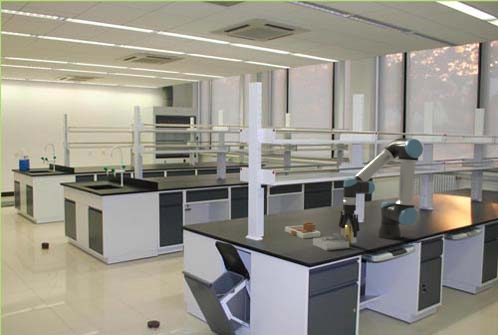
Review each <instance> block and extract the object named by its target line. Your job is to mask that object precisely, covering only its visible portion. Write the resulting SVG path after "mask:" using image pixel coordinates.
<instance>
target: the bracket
mask: <svg viewBox="0 0 498 335" xmlns="http://www.w3.org/2000/svg"><path fill="white" fill-rule="evenodd" d="M302 226H303V229H294V230H297V231H299V232H302V233H311V232H312V230H316V223H314V222H310V221H309V222H306V221H305V222H303V223H302ZM294 230H291V233H290V234H291V236H295V237H298V236H297V232H296V231H294Z"/></svg>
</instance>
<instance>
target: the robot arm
mask: <svg viewBox="0 0 498 335" xmlns="http://www.w3.org/2000/svg"><path fill="white" fill-rule="evenodd" d="M423 151H424V147H423V144H422V142H420V140H419V139H417V138H411V137H410V138H403V137H402V138H397V139H394V140H392V141H391V142H390V143H388V144H387V145H385V147H383V148H382V149H381V152H380V153H379V154H377V156H375V158H373V159H372V160H371V161H370V162H368V164H367V165H366V166H364V167H363V168H362V169H361V170H360V171H359V172H357V174H355V175H354V176H353V177H346V178H344V180H343V185H342V187H343V201H342V202H343V204H342V210H341V211H340V217H339V222H338V227H340V235H342V236H345V225H347V223H348V221H349V222H350V225H351V226H352V229H353V231H352V244H355V243H357V236H358V232H360V225H359V224H360V223H359V214H356V213H355V211H357V195H361V194H362V195H363V194H364V195H365V194H368V195H370V194H373V193H374V192H375V190H376V185H375V183H374V182H373V181H371V180H370V179H371V178H373V176H374V175H375V174H377V173H378V172H379V171H380V170H381V169H383V168H384V166H386V165H387V164H388V163H389V162H390V161H393V160H396V158H398V161H399V162H400V168H399V169H400V170H399V180H398V181H399V182H398V192H397V195H398V196H397V200H396V201H383V202H382V203H381V206H380V225H379V229H378V231H377V237H378V238H383V239H388V240H390V239H392V240H396V239H397V240H398V239H402V237H403V235H402V231H401V227H400V225H401V226H406V227H409V226H413V224H415V223H416V221H417V220H418V216H419V215H418V214H419V213H418V211H417V210H416V208H415V205H416V204H415V203H414V202H413V196H414V184H415V183H414V182H415V172H416V171H415V170H416V169H415V168H416V163H417V162H419V157H421V155H422V154H423ZM369 180H370V181H369Z"/></svg>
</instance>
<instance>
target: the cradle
mask: <svg viewBox="0 0 498 335" xmlns="http://www.w3.org/2000/svg"><path fill="white" fill-rule="evenodd" d="M294 229H303V224H302V225H292V226H291V225H290V226H284V232H286V233H288V234H291V230H294ZM294 231H296V232H297V236H296V237H298V238H301V239H308V238H321V231H318V230H316V229H315V230H312V232H311V233H302V232H299V231H297V230H294Z"/></svg>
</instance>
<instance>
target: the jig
mask: <svg viewBox="0 0 498 335" xmlns="http://www.w3.org/2000/svg"><path fill="white" fill-rule="evenodd" d="M312 238H313V239H312V245H313V246H314V247H317V248H319V249H323V250H324V251H335V250H341V249H349V248H350V246H349V238H348V237H345V236H342V235H341V233H340V234H339V233H336V232H334V233H333V232H331V236H323V237H321V236H320V237H312Z"/></svg>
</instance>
